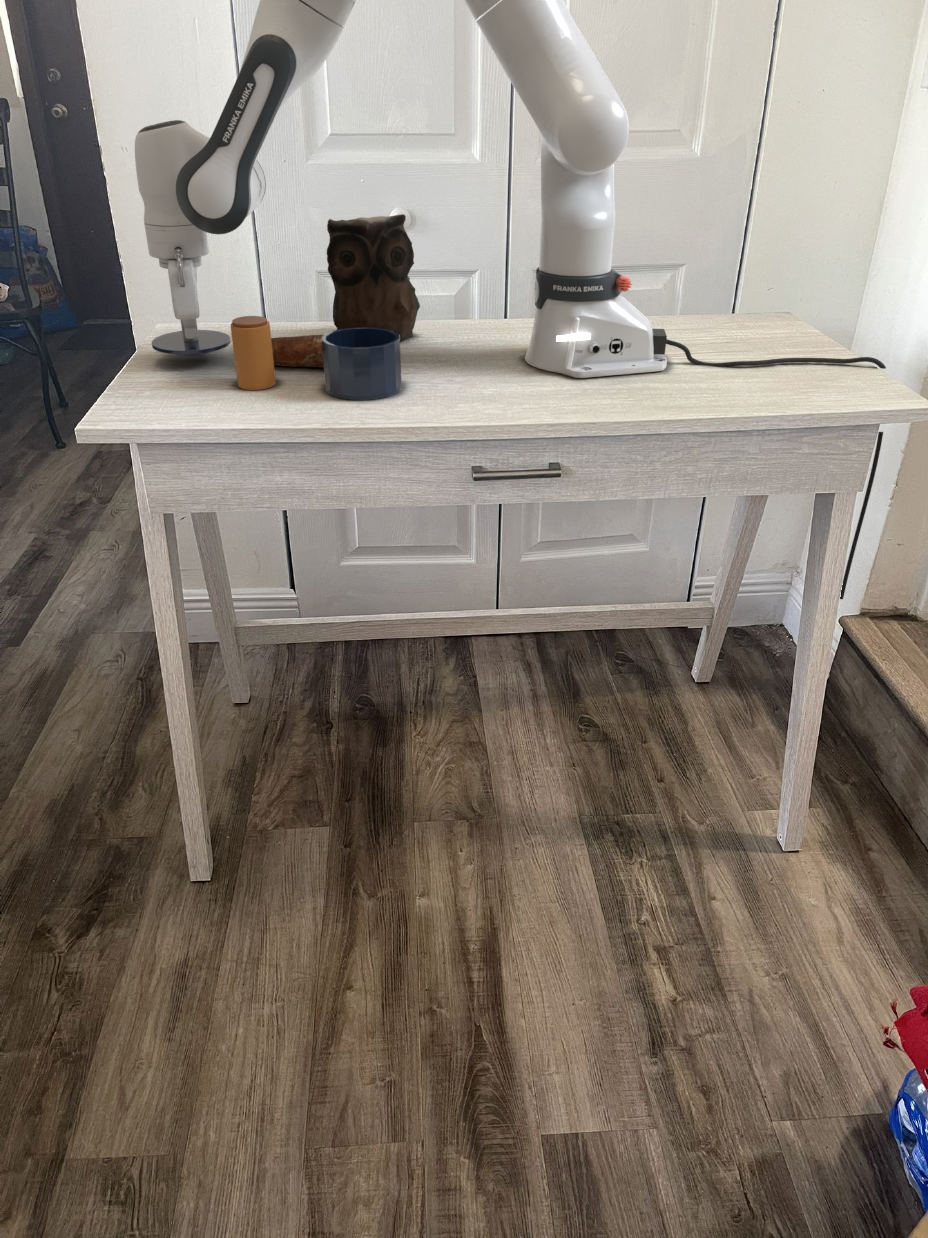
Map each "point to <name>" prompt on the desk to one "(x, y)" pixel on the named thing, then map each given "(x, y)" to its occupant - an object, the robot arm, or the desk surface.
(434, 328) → the desk surface
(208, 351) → the pot lid
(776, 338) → the desk surface
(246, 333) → the tall brown tube
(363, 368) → the pot
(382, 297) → the owl
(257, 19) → the robot arm
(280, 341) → the bread
